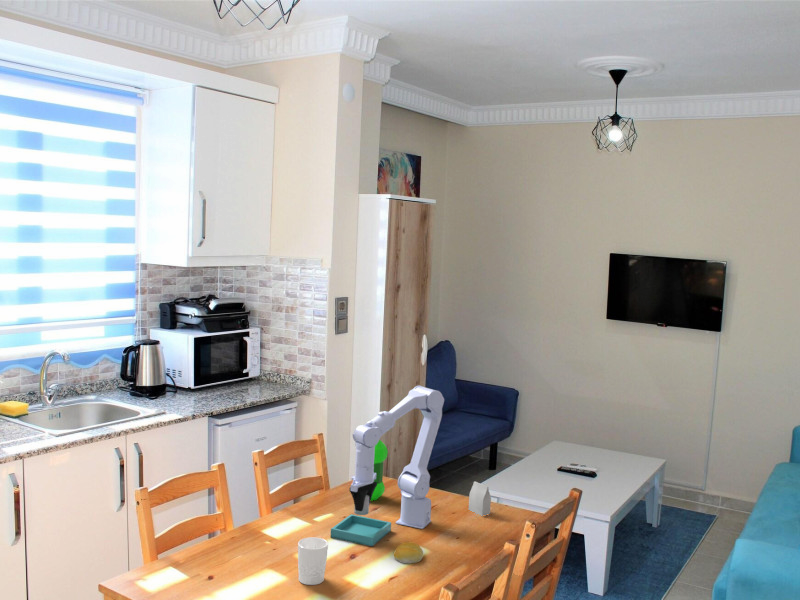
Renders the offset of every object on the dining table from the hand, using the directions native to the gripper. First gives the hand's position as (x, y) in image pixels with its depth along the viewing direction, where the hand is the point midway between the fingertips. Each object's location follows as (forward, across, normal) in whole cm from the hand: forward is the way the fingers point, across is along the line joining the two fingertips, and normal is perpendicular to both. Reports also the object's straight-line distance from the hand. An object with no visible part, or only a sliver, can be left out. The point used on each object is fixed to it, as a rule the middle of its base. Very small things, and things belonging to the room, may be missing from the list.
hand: (362, 507), depth 232 cm
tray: (+8, 0, 0) cm, 8 cm away
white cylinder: (+2, 0, 0) cm, 2 cm away
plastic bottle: (+8, -31, -11) cm, 34 cm away
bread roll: (+9, +9, +19) cm, 23 cm away
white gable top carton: (+8, -37, +27) cm, 47 cm away
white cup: (+8, +35, +2) cm, 36 cm away
